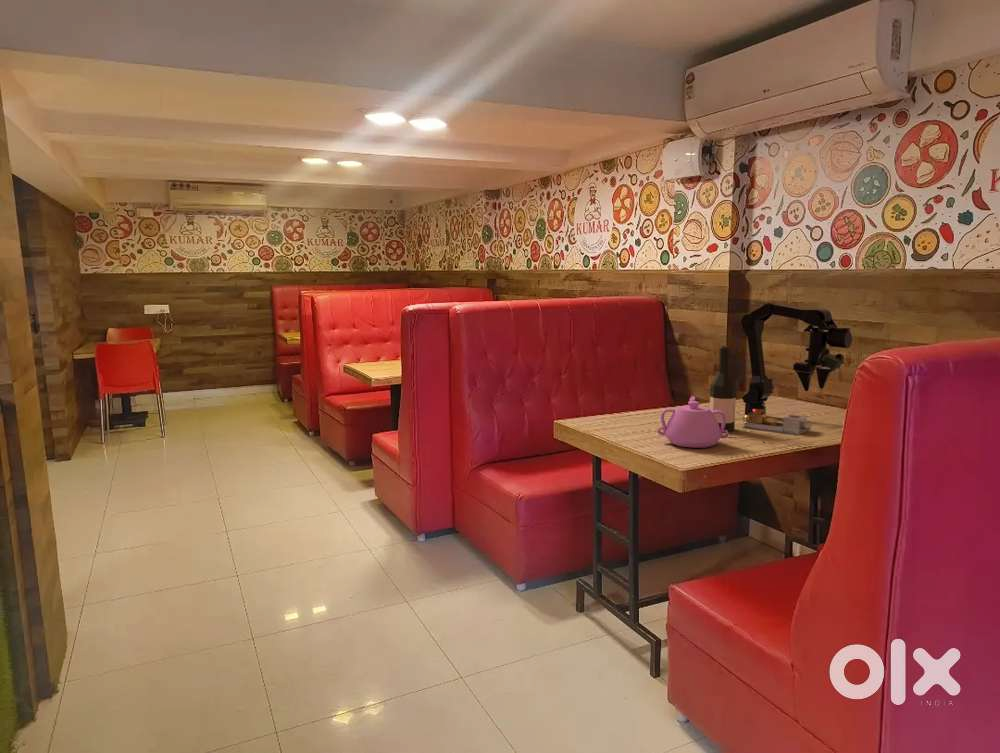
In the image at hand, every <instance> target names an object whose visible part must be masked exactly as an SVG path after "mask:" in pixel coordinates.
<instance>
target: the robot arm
mask: <svg viewBox="0 0 1000 753" xmlns="http://www.w3.org/2000/svg"><path fill="white" fill-rule="evenodd" d="M773 315H774V316H780V317H783V318H790V319H794V320H800V322H801V321H802V322H803V323H805V324H807V325H808V326H807V327H805V328H803V332H804V333H809V336H808V347H805V352H807V359H804V361H796V362H795V363H793V366H792V370H793V371H794V372H795V373H796V374H797V376H798V379H799V381H800V382H801V385H802V388H803V390H804V391H805V392H808V391H809V389H810V386H811V378H812V377H813V375H815V374H816V376H817V382H818V387H819V389H822V390H823V389H824V387H825V385H826V383H827V380H828V379H829V376H830V374H832V373H833V372H835V371H836V369H837V370H838V369H841V366H842V365H844V364H845V354H842V353H837V354H832V353H831V351H830V348H840V349H841V348H842V349H849V348H850V347H851V346H852V343H853V335H852V332H851V328H850V327H838V326H837V324H836V322H835V321H834V319H833V318H832V317H833V316H832V313H831V311H830V310H829V309H827V308H801V307H795V306H790V305H785V304H779V303H776V302H765V303H764V304H763V305H762V306H760V307H759V308H757V309H755V310H753V311H752V312H750V313H746V314H744V315H743V316H742V317H741V318H740V325H741V328H742V331H743V333H744V335H745V337H746V339H747V344H748V352H749V353H748V354H749V360H750V362H749V363H750V370H751V377H750V380H749V386H748V391H747V392H746V393H745V394H744V395H743V396H742V397H741V398H742V401H743V403H744V404H745V407H744V414H745V415H749V413H751V412H753V411H752V409H763V412H761V413H767V412H766V411H767V406H766V402H767V401H768V398H769V397H770V396H771V395H772V394H773V390H774V386H773V378H771V377H770V378H768V376H767V374H766V368H765V359H764V351H763V341H762V334H763V332H764V326H765V322H767V321H768V320H769V319H770V318H771V317H772V316H773ZM827 346H829V347H830V348H827ZM815 371H816V372H815Z"/></svg>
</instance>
